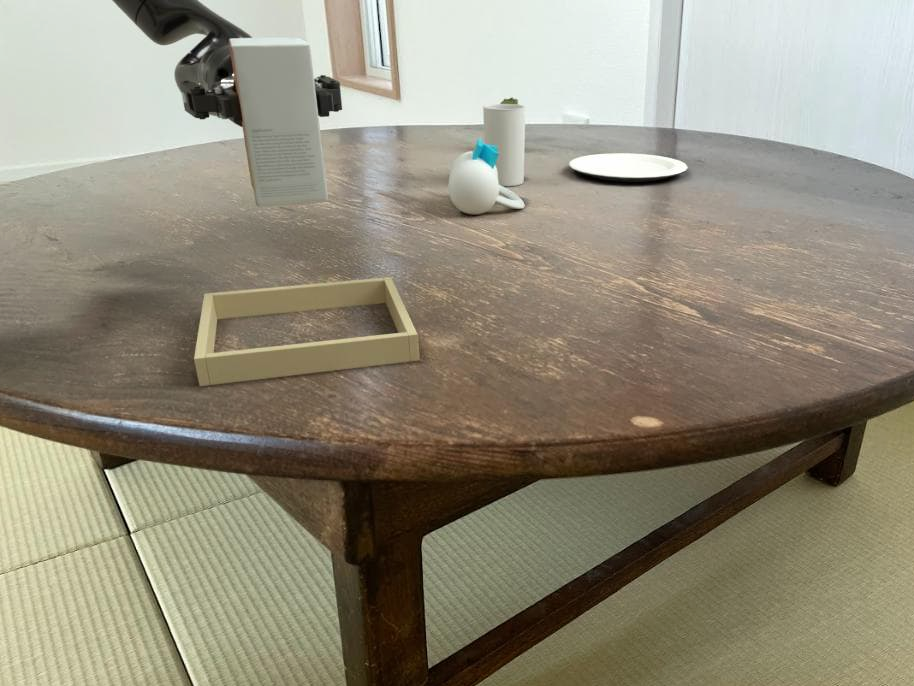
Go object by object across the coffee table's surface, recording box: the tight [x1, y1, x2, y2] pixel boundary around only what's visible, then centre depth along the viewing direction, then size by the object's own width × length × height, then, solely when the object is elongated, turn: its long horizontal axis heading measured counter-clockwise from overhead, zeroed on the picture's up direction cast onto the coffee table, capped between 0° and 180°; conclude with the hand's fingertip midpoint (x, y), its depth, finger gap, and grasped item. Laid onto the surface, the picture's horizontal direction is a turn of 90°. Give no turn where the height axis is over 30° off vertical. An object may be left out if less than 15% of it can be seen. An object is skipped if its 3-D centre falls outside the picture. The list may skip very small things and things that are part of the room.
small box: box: [229, 37, 329, 208], centre depth 70 cm, size 8×6×13 cm
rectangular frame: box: [193, 276, 420, 387], centre depth 72 cm, size 18×16×3 cm
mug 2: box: [447, 138, 526, 216], centre depth 116 cm, size 12×9×12 cm
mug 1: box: [482, 103, 526, 187], centre depth 131 cm, size 10×7×12 cm, turn 24°
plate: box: [568, 152, 688, 183], centre depth 140 cm, size 21×21×2 cm
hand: (281, 106), depth 68 cm, fingers closed on small box, 7 cm apart
